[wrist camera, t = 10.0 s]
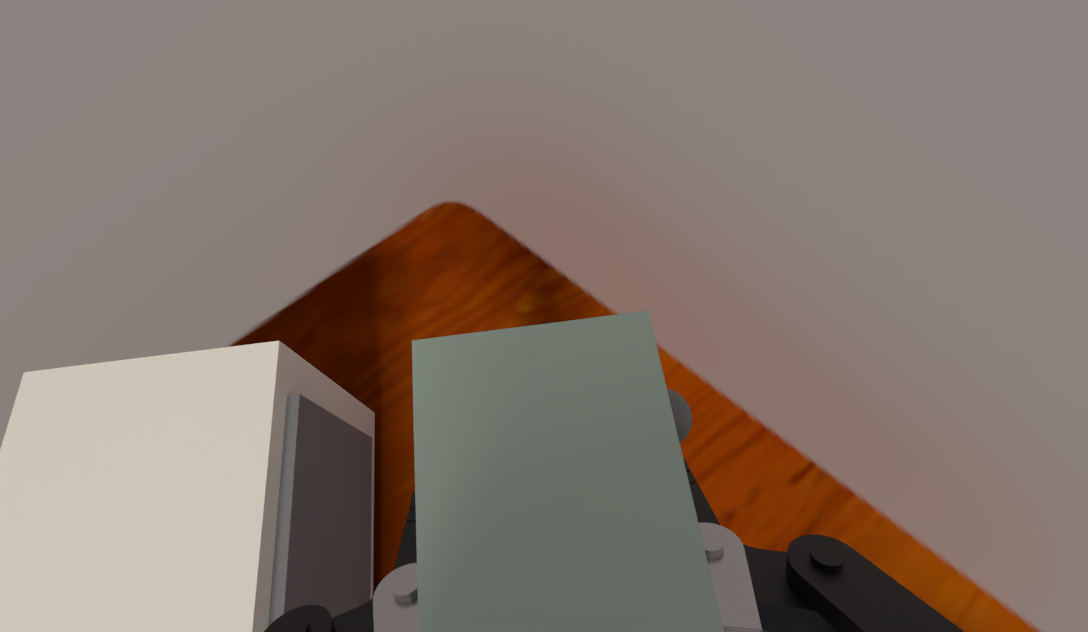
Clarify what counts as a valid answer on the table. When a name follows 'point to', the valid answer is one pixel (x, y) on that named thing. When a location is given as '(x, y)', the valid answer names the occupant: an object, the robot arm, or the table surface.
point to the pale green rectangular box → (555, 484)
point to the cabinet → (184, 494)
